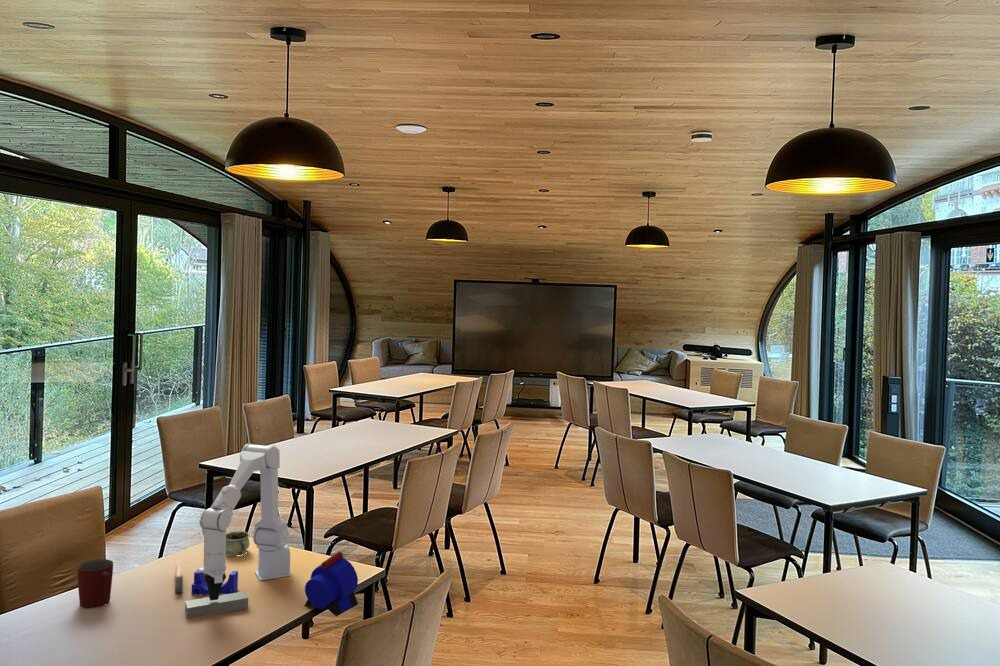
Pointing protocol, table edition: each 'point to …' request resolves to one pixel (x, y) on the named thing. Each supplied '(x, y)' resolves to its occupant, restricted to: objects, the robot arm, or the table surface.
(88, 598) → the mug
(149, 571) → the table surface
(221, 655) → the table surface
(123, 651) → the table surface
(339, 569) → the blue electric motor
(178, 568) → the bar
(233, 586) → the blue pipe saddle
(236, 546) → the vessel
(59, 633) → the table surface
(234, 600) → the grey rectangular block
